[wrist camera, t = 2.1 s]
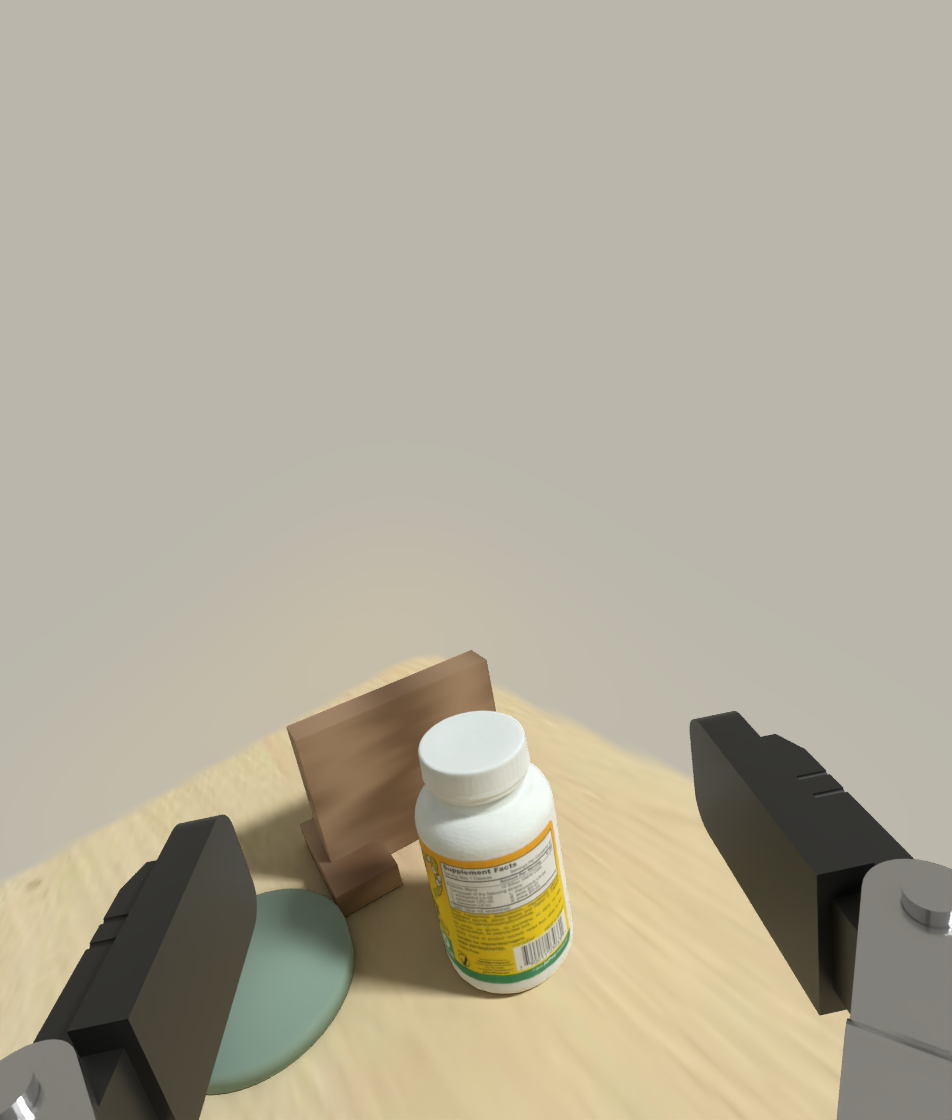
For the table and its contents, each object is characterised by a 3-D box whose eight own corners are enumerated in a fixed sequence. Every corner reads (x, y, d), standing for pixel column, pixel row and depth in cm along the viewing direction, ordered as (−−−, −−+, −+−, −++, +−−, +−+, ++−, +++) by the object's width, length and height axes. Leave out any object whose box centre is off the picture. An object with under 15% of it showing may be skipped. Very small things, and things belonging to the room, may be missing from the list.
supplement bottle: (567, 1007, 24) (531, 789, 21) (429, 992, 25) (376, 787, 22) (579, 888, 28) (551, 698, 25) (463, 881, 30) (424, 701, 27)
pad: (114, 1027, 26) (106, 1009, 26) (274, 882, 32) (269, 866, 32) (231, 1143, 21) (223, 1123, 21) (393, 948, 27) (388, 930, 27)
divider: (342, 918, 29) (296, 769, 27) (305, 843, 34) (265, 712, 32) (540, 806, 34) (518, 671, 31) (482, 754, 39) (459, 634, 36)
